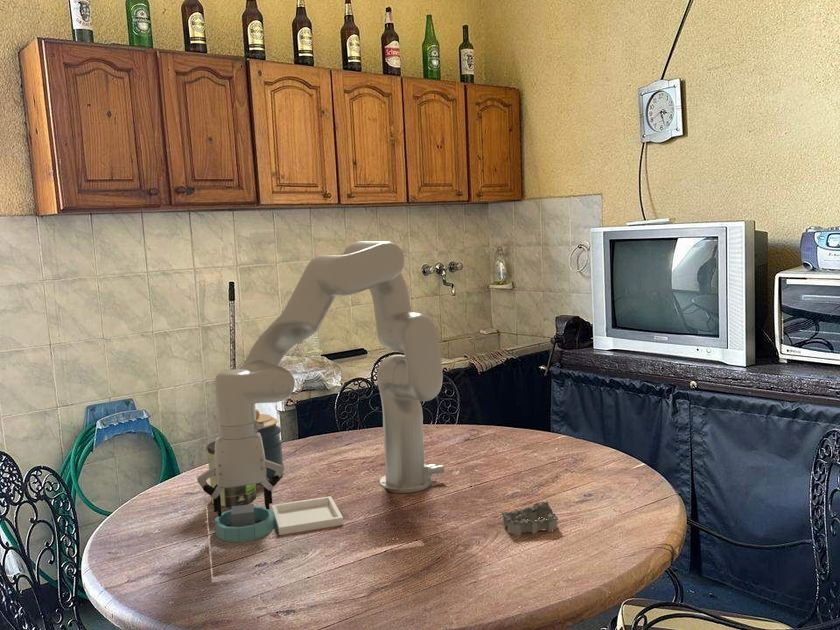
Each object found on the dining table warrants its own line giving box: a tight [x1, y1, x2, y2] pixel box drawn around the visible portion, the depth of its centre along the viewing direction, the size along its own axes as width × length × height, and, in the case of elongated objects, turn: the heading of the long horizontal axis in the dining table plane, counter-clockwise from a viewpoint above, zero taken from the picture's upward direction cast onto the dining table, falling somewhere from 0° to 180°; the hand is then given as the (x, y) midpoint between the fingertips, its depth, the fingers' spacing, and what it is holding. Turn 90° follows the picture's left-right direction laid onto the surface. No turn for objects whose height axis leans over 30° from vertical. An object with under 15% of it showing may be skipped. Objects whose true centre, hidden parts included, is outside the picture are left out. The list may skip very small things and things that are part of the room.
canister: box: [255, 408, 285, 485], centre depth 184 cm, size 13×13×18 cm
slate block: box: [230, 503, 256, 527], centre depth 151 cm, size 4×4×4 cm
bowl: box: [214, 505, 275, 543], centre depth 150 cm, size 12×12×4 cm
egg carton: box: [500, 501, 559, 536], centre depth 148 cm, size 11×8×4 cm
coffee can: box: [206, 440, 257, 508], centre depth 167 cm, size 10×10×14 cm
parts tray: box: [271, 495, 344, 536], centre depth 155 cm, size 13×13×2 cm
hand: (243, 510), depth 150 cm, fingers open, 9 cm apart
